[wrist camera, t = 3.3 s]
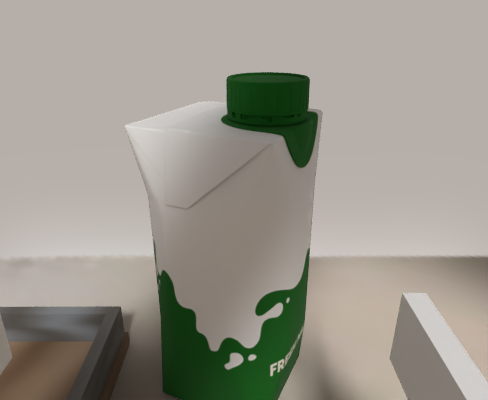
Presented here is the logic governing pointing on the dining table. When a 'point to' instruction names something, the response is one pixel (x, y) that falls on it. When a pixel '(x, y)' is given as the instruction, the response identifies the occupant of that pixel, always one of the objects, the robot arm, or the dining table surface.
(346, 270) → the dining table surface
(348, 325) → the dining table surface
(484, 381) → the robot arm
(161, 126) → the soya milk
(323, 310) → the dining table surface
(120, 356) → the dark gray tray
